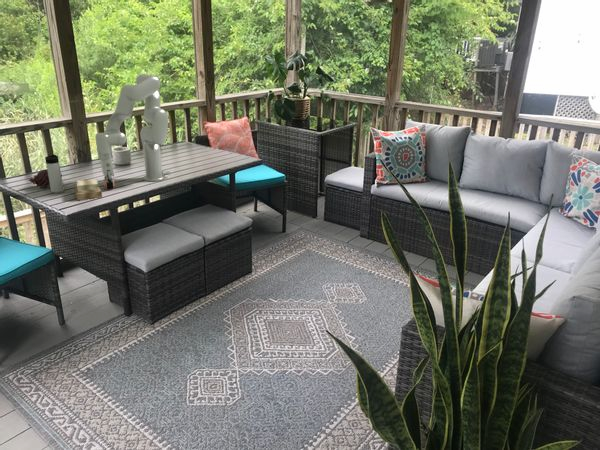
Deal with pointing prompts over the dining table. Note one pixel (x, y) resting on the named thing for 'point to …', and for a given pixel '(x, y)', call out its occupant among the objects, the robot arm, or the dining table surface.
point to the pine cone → (41, 179)
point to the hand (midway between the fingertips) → (109, 186)
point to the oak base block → (88, 195)
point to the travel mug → (54, 174)
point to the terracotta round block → (106, 184)
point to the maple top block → (87, 185)
